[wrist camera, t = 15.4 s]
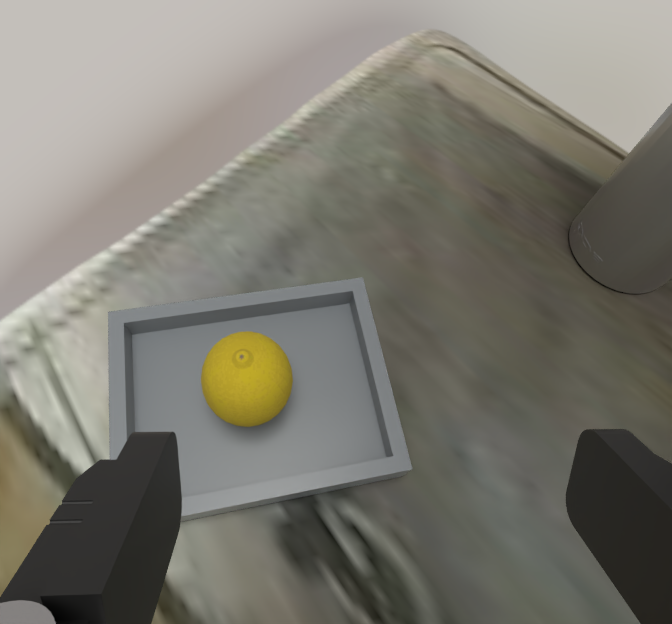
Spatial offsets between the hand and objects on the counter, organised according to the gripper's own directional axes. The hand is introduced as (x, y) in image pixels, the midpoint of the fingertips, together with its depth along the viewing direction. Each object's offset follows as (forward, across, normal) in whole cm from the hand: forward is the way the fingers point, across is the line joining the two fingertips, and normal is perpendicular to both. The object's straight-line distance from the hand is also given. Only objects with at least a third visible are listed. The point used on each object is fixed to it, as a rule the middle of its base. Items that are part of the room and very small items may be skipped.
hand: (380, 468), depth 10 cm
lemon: (+23, +5, +11) cm, 26 cm away
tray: (+23, +4, +12) cm, 27 cm away
